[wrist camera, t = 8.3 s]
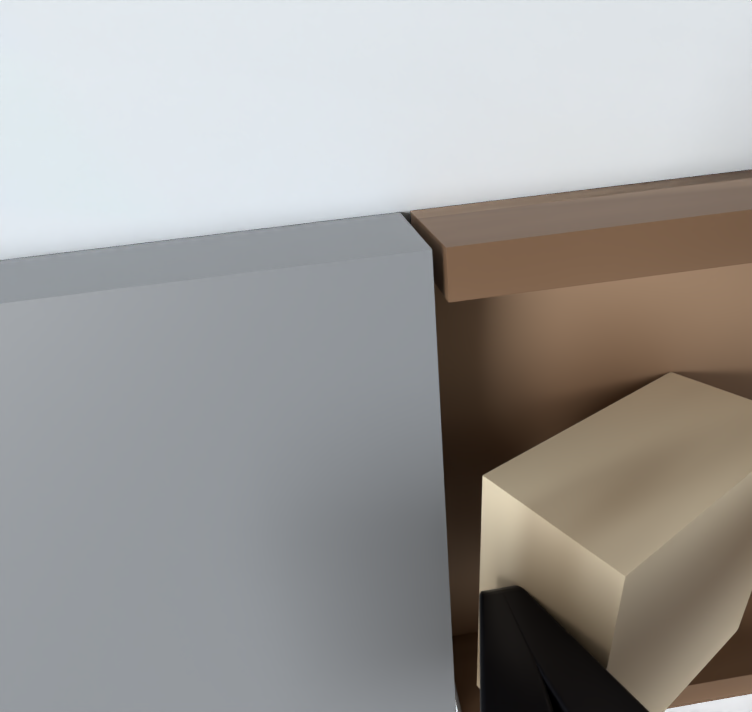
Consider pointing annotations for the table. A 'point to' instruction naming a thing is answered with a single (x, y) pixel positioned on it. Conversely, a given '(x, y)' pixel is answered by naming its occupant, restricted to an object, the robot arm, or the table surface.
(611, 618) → the tile
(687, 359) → the box
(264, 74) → the table surface
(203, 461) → the plate
